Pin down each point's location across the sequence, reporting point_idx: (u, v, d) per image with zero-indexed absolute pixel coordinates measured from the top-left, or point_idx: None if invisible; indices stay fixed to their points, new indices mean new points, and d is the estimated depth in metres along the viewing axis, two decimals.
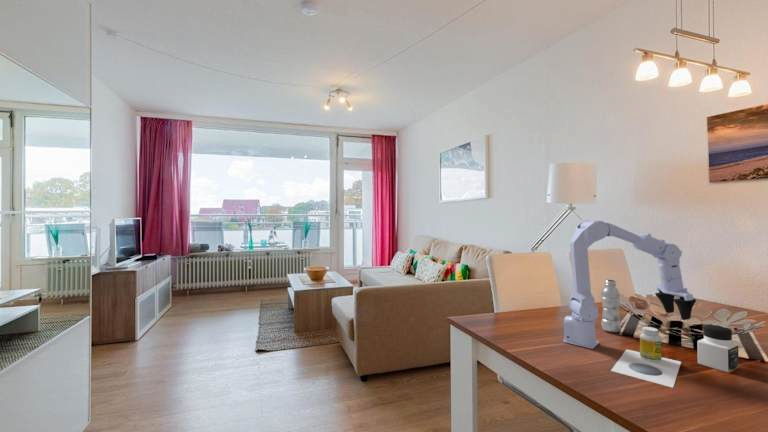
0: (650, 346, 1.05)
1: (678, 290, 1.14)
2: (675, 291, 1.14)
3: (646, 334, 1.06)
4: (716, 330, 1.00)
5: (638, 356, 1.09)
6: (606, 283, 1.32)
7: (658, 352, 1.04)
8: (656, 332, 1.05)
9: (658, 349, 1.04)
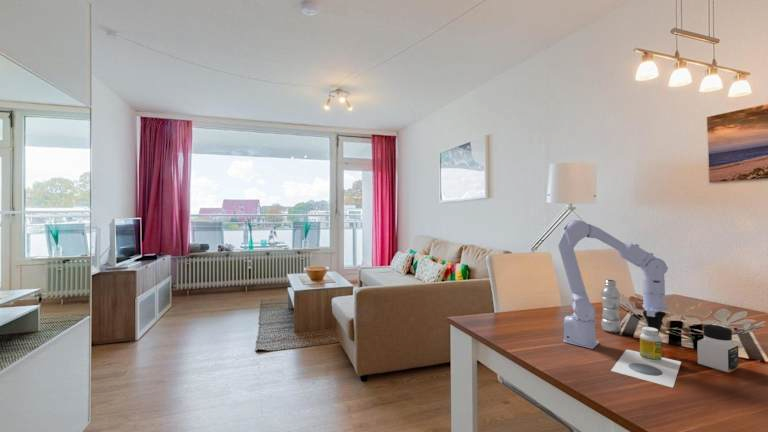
0: (650, 346, 1.05)
1: (652, 306, 1.10)
2: (648, 306, 1.11)
3: (646, 334, 1.06)
4: (716, 330, 1.00)
5: (638, 356, 1.09)
6: (606, 283, 1.32)
7: (658, 352, 1.04)
8: (656, 332, 1.05)
9: (657, 349, 1.04)
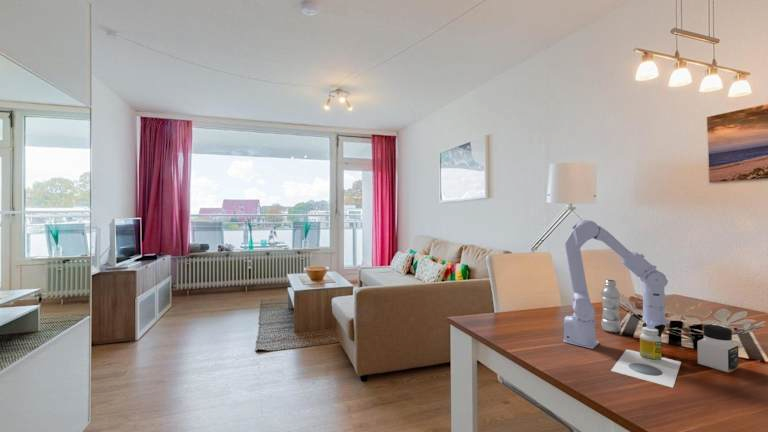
0: (650, 346, 1.05)
1: (651, 319, 1.10)
2: (648, 319, 1.11)
3: (646, 334, 1.06)
4: (716, 330, 1.00)
5: (638, 356, 1.09)
6: (606, 283, 1.32)
7: (658, 352, 1.04)
8: (656, 332, 1.05)
9: (657, 349, 1.04)
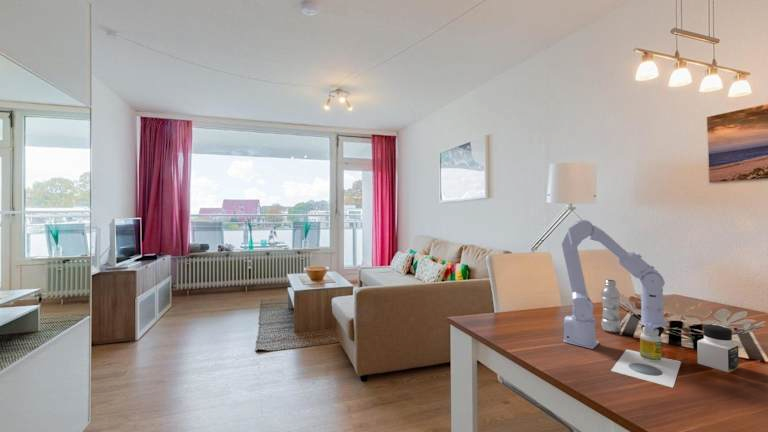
0: (650, 346, 1.04)
1: (650, 321, 1.07)
2: (647, 321, 1.08)
3: (647, 335, 1.06)
4: (716, 329, 1.00)
5: (638, 356, 1.09)
6: (606, 283, 1.32)
7: (658, 352, 1.04)
8: (656, 332, 1.04)
9: (658, 350, 1.04)
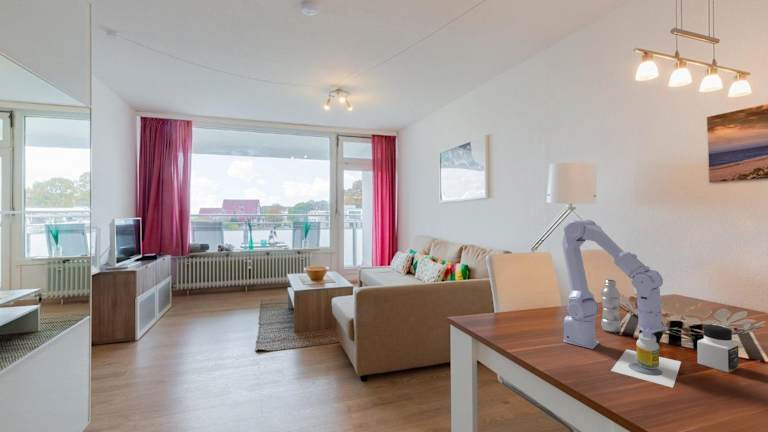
0: (647, 355, 0.99)
1: (648, 326, 1.01)
2: (644, 326, 1.02)
3: (643, 343, 0.99)
4: (716, 330, 1.00)
5: None
6: (606, 283, 1.32)
7: (655, 360, 0.98)
8: (653, 341, 0.98)
9: (655, 358, 0.98)
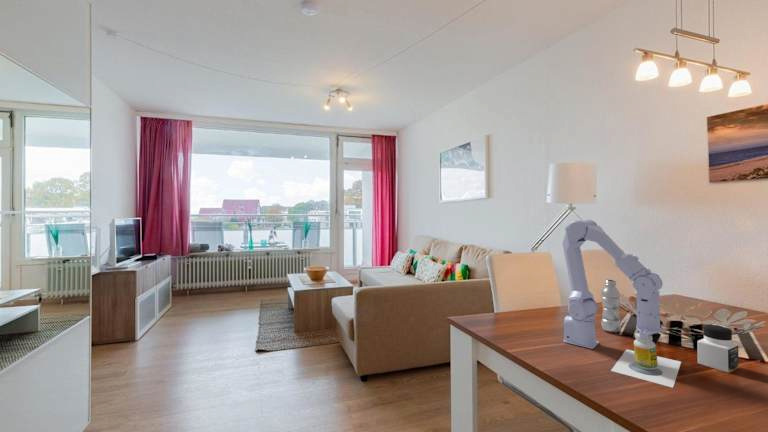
0: (645, 353, 0.99)
1: (646, 327, 1.02)
2: (642, 327, 1.03)
3: (640, 341, 1.00)
4: (716, 329, 1.00)
5: None
6: (606, 283, 1.32)
7: (654, 359, 0.98)
8: (650, 338, 0.99)
9: (653, 356, 0.98)
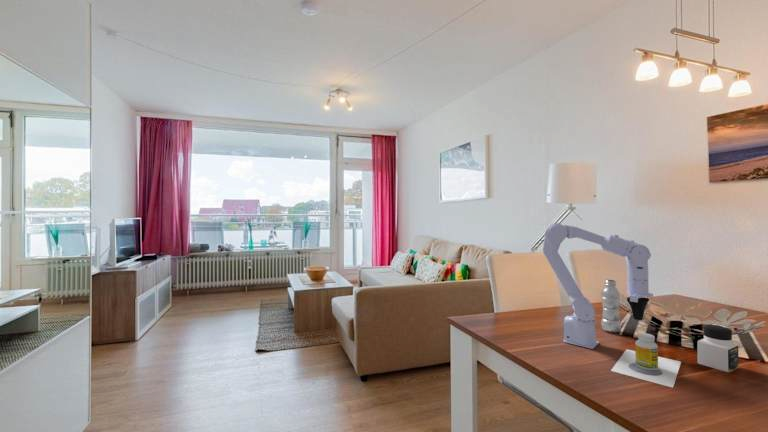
0: (646, 353, 0.99)
1: (635, 292, 1.12)
2: (632, 292, 1.13)
3: (642, 341, 1.00)
4: (716, 329, 1.00)
5: None
6: (606, 283, 1.32)
7: (655, 360, 0.99)
8: (652, 339, 0.99)
9: (654, 357, 0.99)
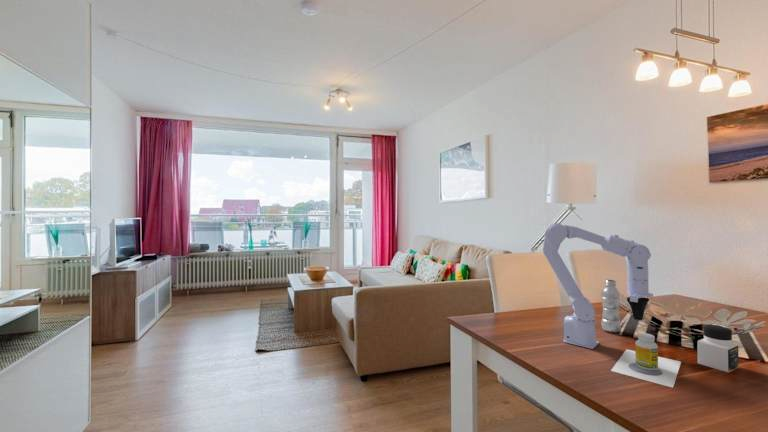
0: (646, 353, 0.99)
1: (635, 292, 1.12)
2: (632, 292, 1.13)
3: (642, 341, 1.00)
4: (716, 330, 1.00)
5: None
6: (606, 283, 1.32)
7: (655, 360, 0.99)
8: (652, 339, 0.99)
9: (654, 357, 0.99)
